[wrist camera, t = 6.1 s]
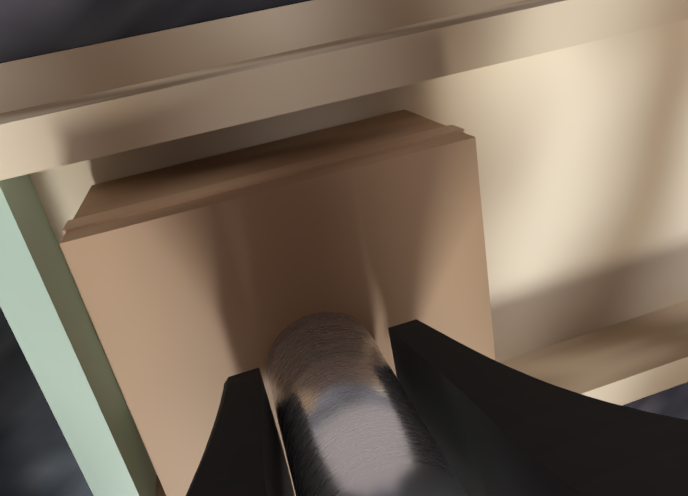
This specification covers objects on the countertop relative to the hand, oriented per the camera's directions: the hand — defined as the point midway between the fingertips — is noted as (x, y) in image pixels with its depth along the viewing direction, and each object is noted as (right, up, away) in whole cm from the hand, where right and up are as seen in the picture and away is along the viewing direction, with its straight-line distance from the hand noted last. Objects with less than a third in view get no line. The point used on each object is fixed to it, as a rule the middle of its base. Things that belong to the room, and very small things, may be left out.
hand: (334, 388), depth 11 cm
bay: (+2, +3, +6) cm, 7 cm away
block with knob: (-1, +2, +4) cm, 5 cm away
